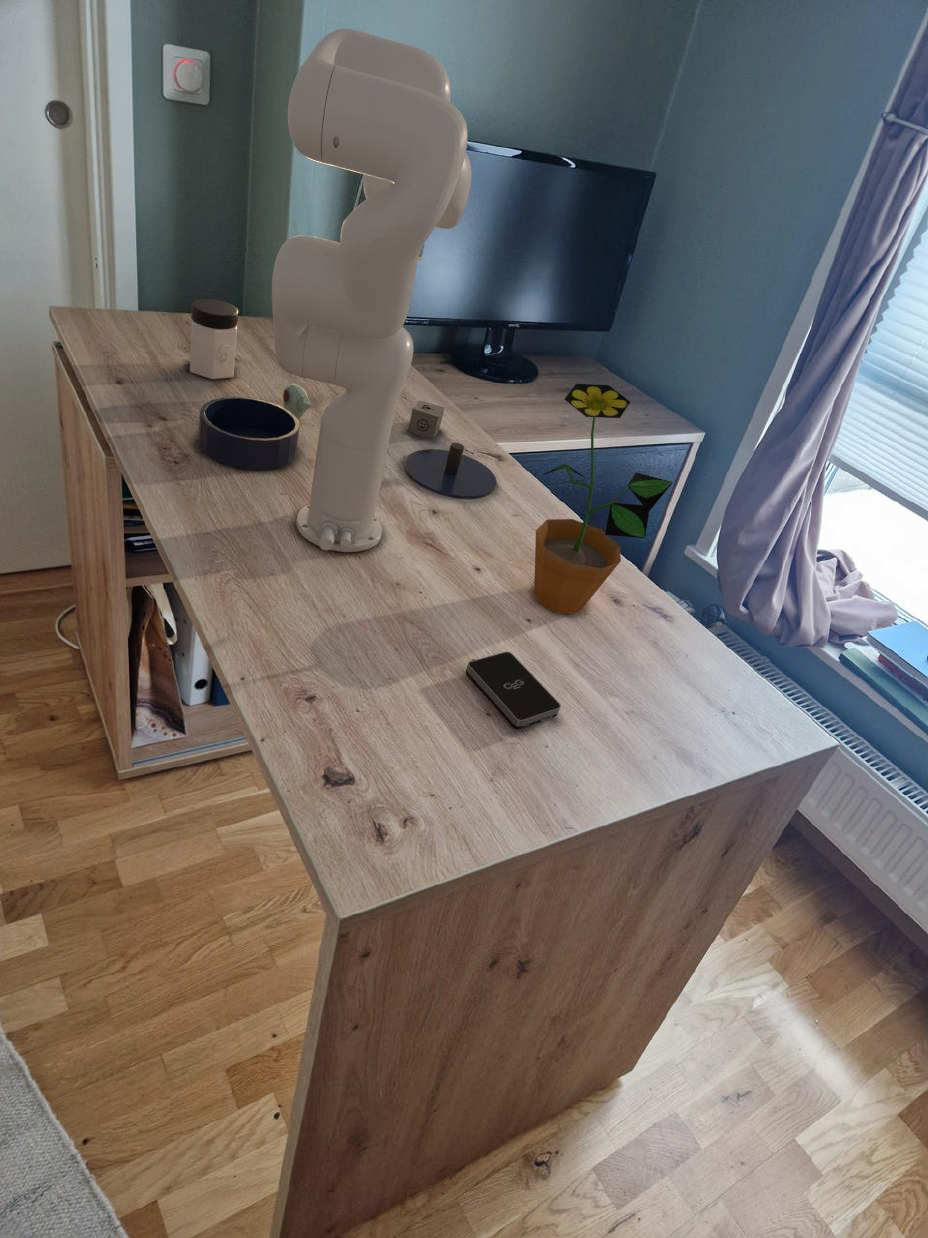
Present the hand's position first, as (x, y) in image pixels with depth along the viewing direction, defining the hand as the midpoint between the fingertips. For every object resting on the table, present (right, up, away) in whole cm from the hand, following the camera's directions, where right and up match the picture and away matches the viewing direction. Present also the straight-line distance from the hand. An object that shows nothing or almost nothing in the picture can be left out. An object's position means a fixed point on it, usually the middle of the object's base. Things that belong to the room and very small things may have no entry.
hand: (380, 351), depth 136 cm
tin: (-22, -16, 0) cm, 27 cm away
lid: (+11, -19, +8) cm, 23 cm away
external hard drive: (+19, -54, -34) cm, 67 cm away
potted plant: (+27, -41, -15) cm, 52 cm away
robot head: (-17, -9, +12) cm, 22 cm away
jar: (-34, +3, +20) cm, 40 cm away
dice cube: (+6, -9, +20) cm, 23 cm away
